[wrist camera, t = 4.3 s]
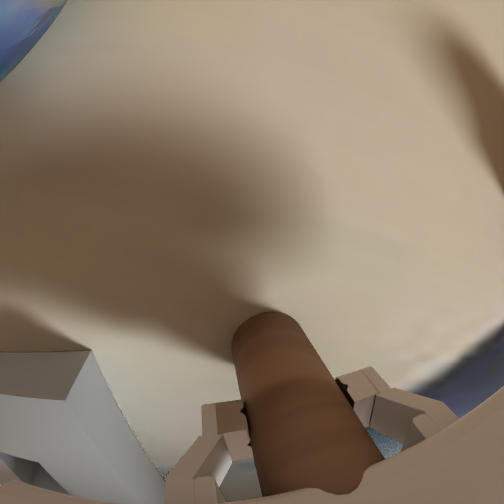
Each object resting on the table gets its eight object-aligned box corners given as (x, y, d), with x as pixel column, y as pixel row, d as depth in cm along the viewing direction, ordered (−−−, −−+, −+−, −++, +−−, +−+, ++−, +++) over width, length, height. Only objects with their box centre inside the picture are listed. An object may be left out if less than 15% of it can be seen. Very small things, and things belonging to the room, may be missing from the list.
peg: (304, 364, 15) (390, 522, 5) (237, 378, 14) (279, 559, 5) (301, 305, 14) (426, 475, 4) (226, 319, 13) (271, 533, 4)
